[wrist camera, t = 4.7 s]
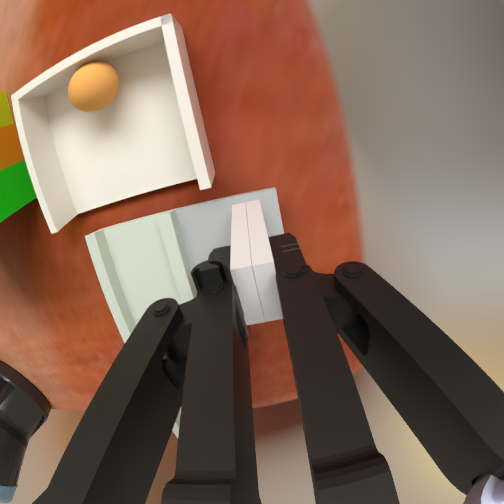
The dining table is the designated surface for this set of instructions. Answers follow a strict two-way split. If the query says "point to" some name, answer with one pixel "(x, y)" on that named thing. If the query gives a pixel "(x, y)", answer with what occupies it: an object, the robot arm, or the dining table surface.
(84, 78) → the ball
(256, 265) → the robot arm
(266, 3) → the dining table surface
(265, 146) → the dining table surface
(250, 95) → the dining table surface
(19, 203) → the puzzle toy
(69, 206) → the tray
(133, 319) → the lever
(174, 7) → the dining table surface
